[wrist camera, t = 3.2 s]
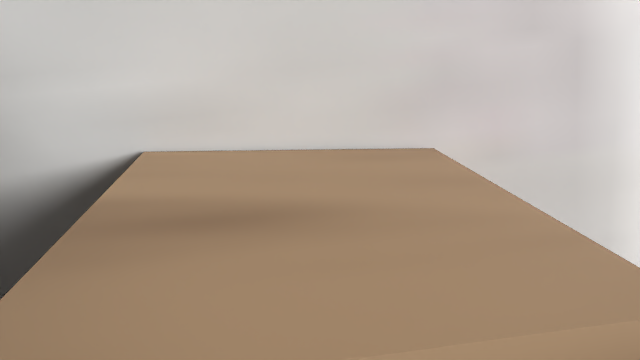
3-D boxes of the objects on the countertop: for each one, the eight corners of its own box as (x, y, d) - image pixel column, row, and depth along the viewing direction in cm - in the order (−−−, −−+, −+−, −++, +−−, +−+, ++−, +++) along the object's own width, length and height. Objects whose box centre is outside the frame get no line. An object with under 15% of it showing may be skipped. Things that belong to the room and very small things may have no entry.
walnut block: (398, 347, 10) (527, 613, 5) (178, 376, 9) (98, 750, 4) (433, 148, 8) (712, 310, 3) (143, 151, 6) (-119, 422, 2)
